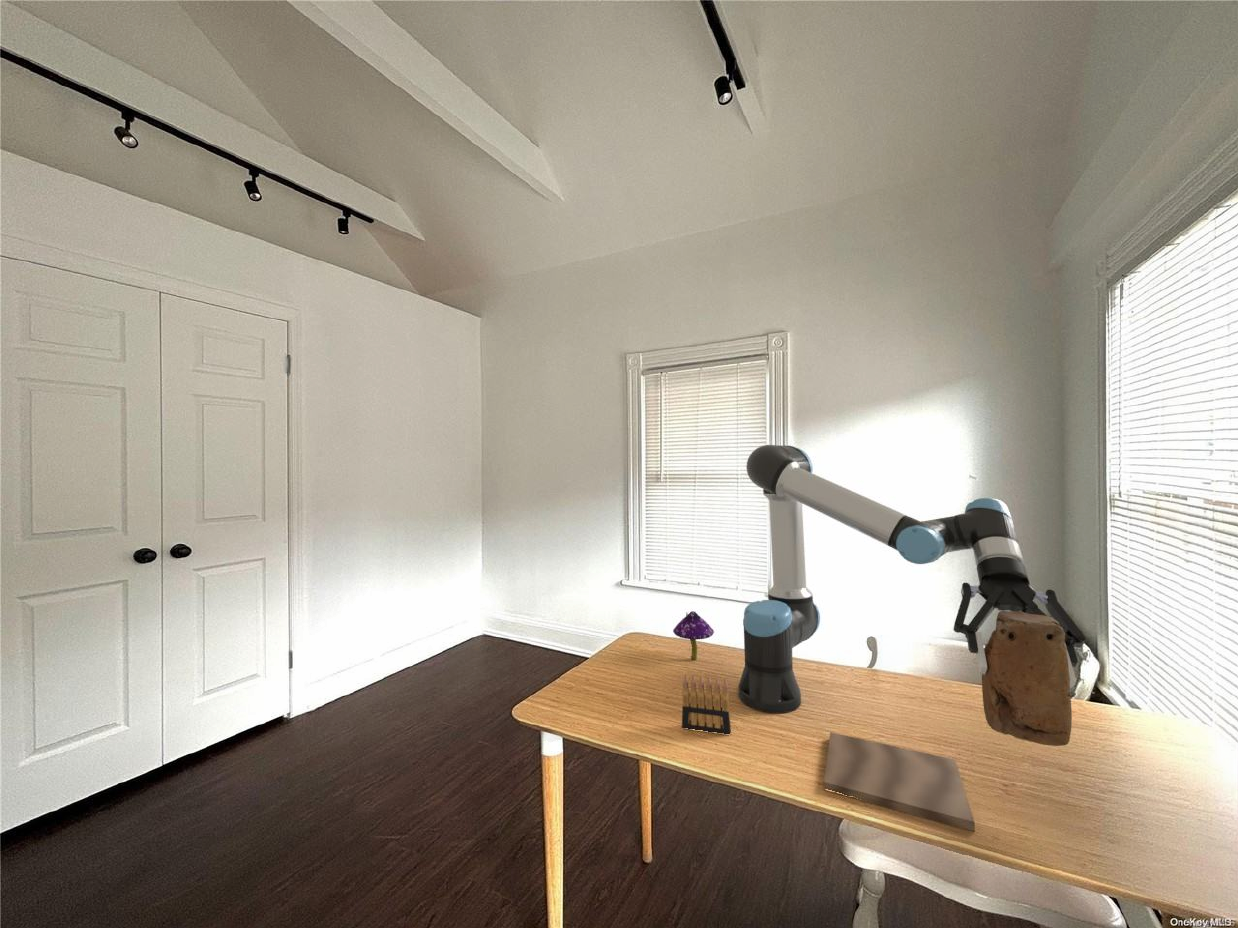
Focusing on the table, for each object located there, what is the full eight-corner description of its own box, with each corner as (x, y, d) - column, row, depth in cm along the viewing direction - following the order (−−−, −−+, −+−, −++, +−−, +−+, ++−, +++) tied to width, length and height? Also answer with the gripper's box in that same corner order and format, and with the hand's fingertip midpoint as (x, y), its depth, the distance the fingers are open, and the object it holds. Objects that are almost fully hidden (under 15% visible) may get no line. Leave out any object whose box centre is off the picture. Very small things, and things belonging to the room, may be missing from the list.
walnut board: (823, 790, 85) (823, 781, 85) (830, 738, 100) (830, 731, 100) (974, 831, 74) (974, 821, 74) (955, 767, 90) (955, 759, 90)
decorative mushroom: (670, 653, 150) (669, 606, 150) (708, 651, 151) (707, 604, 151) (677, 669, 137) (676, 618, 137) (719, 667, 138) (718, 616, 138)
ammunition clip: (681, 728, 106) (680, 675, 106) (683, 724, 107) (681, 671, 108) (730, 735, 103) (729, 680, 103) (730, 731, 104) (729, 676, 105)
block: (1058, 730, 80) (1055, 613, 80) (1076, 754, 74) (1073, 626, 74) (979, 716, 85) (977, 606, 85) (990, 737, 78) (987, 618, 79)
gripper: (1073, 582, 89) (1114, 700, 75) (928, 571, 100) (940, 673, 86) (1084, 559, 85) (1129, 681, 71) (931, 550, 95) (944, 654, 81)
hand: (1026, 677), depth 78 cm, fingers closed on block, 11 cm apart
